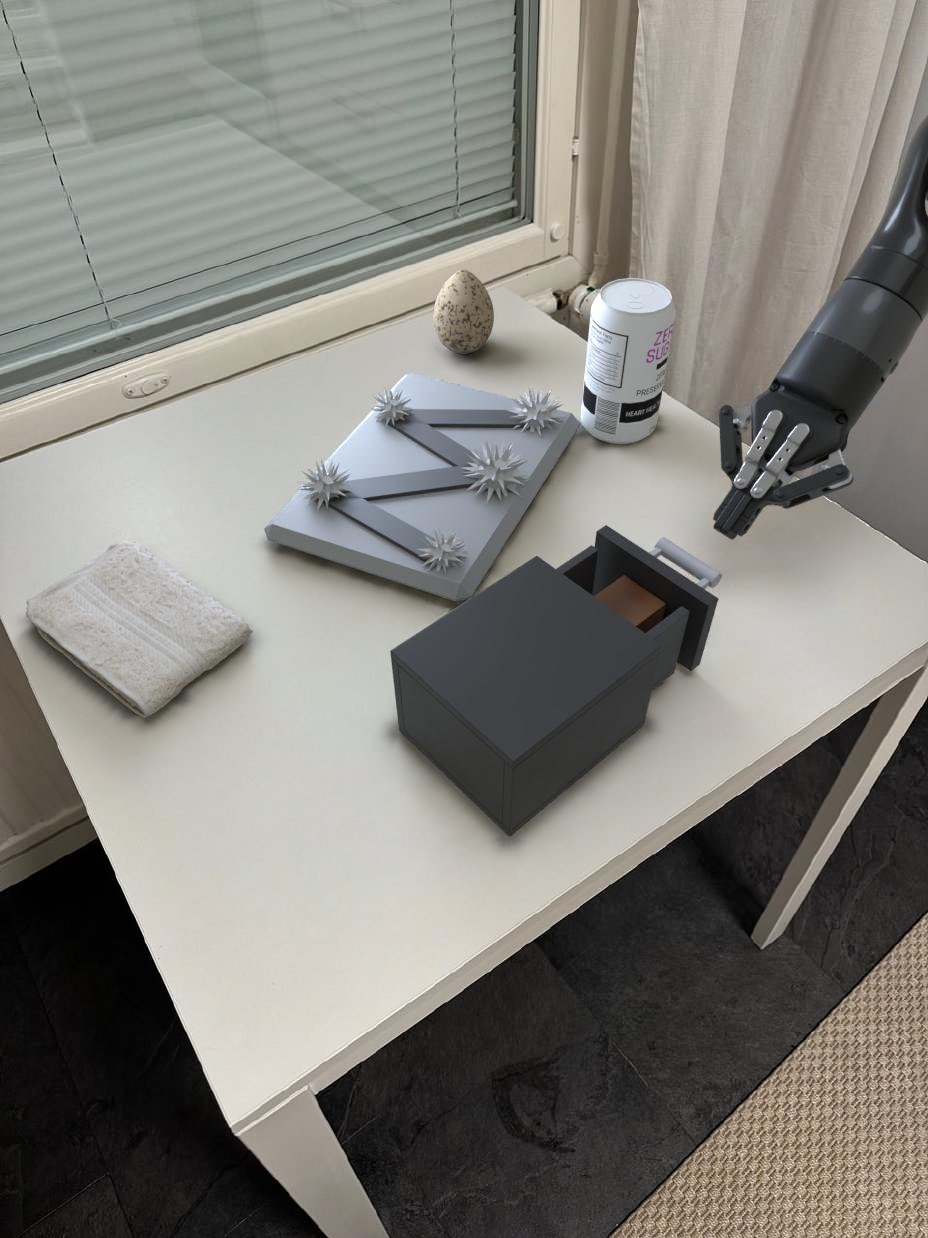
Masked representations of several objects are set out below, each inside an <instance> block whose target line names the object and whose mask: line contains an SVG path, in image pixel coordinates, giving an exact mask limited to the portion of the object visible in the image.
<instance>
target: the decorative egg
mask: <svg viewBox="0 0 928 1238" xmlns="http://www.w3.org/2000/svg"><path fill="white" fill-rule="evenodd" d="M491 298H492V297H491V296H490V293H489V291H488V290H487V288H486V286H485V285H484V284H483V282H482V281H481V279H479V278H478V277H477V275H475V274H474V273H473V272H472V271H470V270H468V269H460V270H457V271H456V272H454V273H453V274H452V275H451V276H449V278H448V279H447V280H446V281H445V282H444V284H443V285H442V287H441V289H440V290H439V292H438V294H437V297H436V300H435V302H434V307H433V316H432V317H433V318H432V319H433V326H434V330H435V333H436V335H437V338H438V339H439V341H440V342H441V343H442V344H443V346H444V347H445V348H447V349H448V350H450V351H451V352H453V353H456V354H462V355H465V354H471V353H474V352H476V351H477V350H479V349H481V348H482V347H483V346H484V345H485V344H486V343H487V342H488V340H489V339H490V336H491V334H492V331H493V327H494V323H495V311H494V305H493V301H492V299H491Z"/></svg>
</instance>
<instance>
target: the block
mask: <svg viewBox="0 0 928 1238" xmlns="http://www.w3.org/2000/svg"><path fill="white" fill-rule="evenodd" d="M594 597H595V598H597V599H598V600H600V601H601V602H602V603H604V604H605V605H607V606H608V607H609V608H611V609H612V610H614V611H615V612H616V613H618V614H619V615H621V616H622V617H623V618H625V619H626V620H628V621H629V622H630V623H632V624H633V625H635V626H636V627H637V628H639V629H640V630H641V631H643V632H644V633H647V632H648V631H650V630H651V629H652V628H653V627H655V626H656V625H657V624H659V623H660V622H661V621H662V619H663V615H664V610H665V606H666V603H664V602H663V601H661V600H660V599H658V598H657V597H656V596H654V595H653V594H651V593H650V592H648V591H647V590H645V589H644V588H642V587H641V586H640V585H638V584H637V583H635V582H634V581H632V580H631V579H629V578H628V577H626V576H625V575H623V576H622V577H621V578H619V579H618V580H616V581H615V582H614V583H612V584H611V585H609V586H608V587H606V588H605V589H604V590H602V591H601V592H599V593H598V594H596V595H595V596H594Z"/></svg>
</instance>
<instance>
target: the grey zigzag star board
mask: <svg viewBox="0 0 928 1238" xmlns="http://www.w3.org/2000/svg"><path fill="white" fill-rule="evenodd" d="M530 388H531V389H530ZM530 388H528V394H527V392H526V391H525V390H523V392H524V397H525V398H524V397H523V396H522V395H521V394H518V396H519V398H520V399H519V398H518V397H509V396H505V395H501V394H497V393H493V392H489V391H485V390H481V389H476V388H473V387H469V386H464V385H461V384H456V383H453V382H448V381H445V380H441V379H437V378H433V377H429V376H424V375H421V374H417V373H412V372H408V373H406V374H405V375H404V376H402V377H401V378H400V379H399V380H398V381H397V382H396V384H394V385H393V387H392V388H391V389H390V388H389V386H387V389H386V388H384V390H383V394H384V396H383V395H382V394H380V393H379V392H377V394H376V396H377V397H376V396H374V395H373V398H374V399H375V400H376V401H377V402H376V404H371V406H372V407H373V408H371V410H370V412H369V413H368V414H367V415H366V416H365V417H364V418H363V420H362V421H361V422H360V423H359V424H358V425H357V426H356V427H355V428H354V429H353V431H352V432H351V433H349V435H348V436H347V437H346V438H345V439H344V440H343V441H342V443H341V444H340V445H339V446H338V447H337V448H336V449H335V450H334V451H333V453H332V454H330V455H329V457H328V458H327V459H326V460H325V461H324V462H323V460H322V458H320V464H321V466H320V465H319V464H318V461H315V463H316V464H315V465H316V468H317V469H316V471H315V472H314V471H313V470H311V469H309V468H308V467H306V466H305V468H306V469H307V471H308V472H309V473H310V474H309V473H306V472H305V471H303V470H301V472H302V473H303V474H304V476H306V479H307V481H297V483H299V484H302V485H300V487H301V488H298V491H297V492H296V493H295V494H294V495H293V496H292V497H291V499H289V501H288V502H287V503H286V504H285V505H284V506H283V507H282V508H281V509H280V510H279V512H278V513H277V514H276V515H275V516H274V517H273V518H272V519H271V520H270V521H269V522H268V524H267V525H266V526H265V527H264V528H263V530H264V533H265V536H266V538H267V540H268V541H269V542H273V543H276V544H279V545H282V546H285V547H288V548H291V549H294V550H297V551H300V552H304V553H307V554H309V555H312V556H316V557H318V558H322V559H325V560H327V561H330V562H334V563H337V564H341V565H343V566H346V567H350V568H351V569H355V570H359V571H362V572H364V573H367V574H370V575H373V576H377V577H379V578H383V579H386V580H388V581H392V582H395V583H397V584H401V585H404V586H407V587H410V588H412V589H413V588H414V589H417V590H419V591H422V592H425V593H428V594H432V595H434V596H435V595H436V596H438V597H441V598H444V599H447V600H450V601H453V602H460V603H461V602H464V601H465V600H466V601H467V600H469V599H470V598H472V597H473V596H474V593H476V590H477V589H478V587H479V586H480V584H481V582H482V581H483V579H484V578H485V576H486V575H487V574H488V572H489V570H490V568H491V567H492V565H493V564H494V562H495V560H496V559H497V557H498V556H499V554H500V553H501V551H502V549H503V548H504V546H505V544H506V543H507V542H508V540H509V538H510V537H511V535H512V533H513V532H514V530H515V529H516V527H517V526H518V524H519V522H520V521H521V519H522V518H523V516H524V515H525V513H526V511H527V510H528V508H529V507H530V505H531V503H532V501H533V500H534V499H535V497H536V495H537V494H538V492H539V491H540V489H541V487H542V486H543V484H544V483H545V481H546V480H547V478H548V476H550V473H551V472H552V470H553V469H554V467H555V465H556V464H557V462H558V461H559V459H560V457H561V456H562V454H563V453H564V451H565V449H566V448H567V446H568V445H569V444H570V442H571V441H572V439H573V437H574V435H575V434H576V432H577V430H578V429H579V428H580V426H581V422H580V421H579V420H578V419H577V417H576V416H575V415H574V414H573V413H572V412H571V411H565V410H560V409H559V408H560V407H562V406H563V405H564V403H562V404H560V402H558V400H559V399H560V397H558V398H556V399H554V400H552V401H551V399H549V398H550V395H551V392H552V389H550V390H549V391H548V392H547V393H546V394H545V396H544V387H542V388H541V390H540V393H539V390H537V391H536V394H535V391H534V388H533V386H532V385H531V387H530ZM556 402H558V403H556Z"/></svg>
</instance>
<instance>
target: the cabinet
mask: <svg viewBox="0 0 928 1238" xmlns="http://www.w3.org/2000/svg"><path fill="white" fill-rule="evenodd" d="M661 648H662V645H661V644H660V643H658V642H657V641H655V640H654V639H653V638H651V637H650V636H648V635H647V634H646V633H644V632H643V631H641V630H640V629H639V628H637V627H636V626H635V625H633V624H632V623H630V622H629V621H628V620H626V619H625V618H623V617H622V616H621V615H619V614H618V613H616V612H615V611H614V610H612V609H611V608H609V607H608V606H607V605H605V604H604V603H602V602H601V601H600V600H598V599H597V598H595V597H594V596H593V595H591V594H590V593H588V592H587V591H586V590H584V589H583V588H581V587H580V586H579V585H577V584H576V583H575V582H573V581H572V580H570V579H569V578H568V577H566V576H565V575H563V574H562V573H561V572H559V571H558V570H556V568H555V567H553V565H551V564H550V563H548V562H547V561H545V560H544V559H543V558H541V557H540V556H538V555H534V556H533V557H532V558H531V559H529V560H527V561H526V562H524V563H522V564H521V565H519V566H518V567H516V568H515V569H514V570H512V571H510V572H509V573H507V574H505V575H504V576H503V577H501V578H499V579H498V580H497V581H495V582H494V583H492V584H490V585H489V586H487V587H486V588H485V589H482V590H481V591H480V592H478V593H476V594H475V595H472V597H471V598H468V599H466V601H463V603H461V604H460V605H459V606H457V607H455V608H454V609H451V610H450V611H449V612H448V613H445V614H444V615H443V616H441V617H440V618H438V619H436V620H435V621H433V622H432V623H430V624H429V625H427V626H426V627H424V628H423V629H421V630H420V631H418V632H416V633H415V634H414V635H412V636H410V637H409V638H407V639H406V640H404V641H403V642H401V643H400V644H398V645H396V646H395V647H393V648H392V649H390V651H389V652H390V662H391V670H392V679H393V689H394V697H395V705H396V707H395V708H396V717H397V722H398V723H397V724H398V731H399V732H401V734H403V736H405V738H407V739H408V740H409V741H410V742H411V743H412V744H413V745H414V746H415V747H416V748H417V749H418V750H419V751H420V752H421V753H422V754H423V755H424V756H425V757H426V758H427V759H428V760H429V761H431V763H433V764H434V766H435V767H436V768H437V769H439V771H441V772H442V773H443V774H444V775H445V776H446V777H447V778H448V779H449V780H450V781H451V782H452V783H453V784H454V785H455V786H456V787H457V788H459V790H460V791H461V792H462V793H463V794H464V795H466V796H467V797H468V798H469V800H471V801H472V802H473V803H474V804H475V805H476V806H477V807H478V808H479V809H480V810H481V811H482V812H483V813H484V814H485V815H486V816H487V817H489V819H491V821H493V822H494V824H496V825H497V827H499V829H501V831H503V832H504V833H505V834H506V835H507V836H508V837H511V836H513V835H514V834H515V833H516V832H517V831H519V830H520V829H521V828H523V826H524V825H526V824H527V823H528V822H530V821H531V820H532V819H533V818H534V817H536V816H537V815H538V814H539V813H540V812H542V811H543V810H544V809H545V808H546V807H547V806H549V805H550V804H552V802H554V801H555V800H556V799H557V798H558V797H560V796H561V795H562V794H563V793H564V792H566V791H567V790H568V789H569V788H570V787H572V786H573V785H574V784H575V783H576V782H578V781H579V780H580V779H581V778H582V777H584V776H585V775H586V774H587V773H589V772H590V771H591V770H593V768H594V767H596V766H597V765H598V764H599V763H600V762H602V761H603V760H604V759H605V758H607V756H609V755H610V754H611V753H612V752H613V751H615V750H617V748H619V747H620V746H621V745H622V744H624V742H626V741H627V740H628V739H629V738H631V737H632V736H633V735H634V734H635V733H637V732H638V731H639V730H640V729H642V728H643V726H644V725H645V722H646V717H647V713H648V708H649V704H650V700H651V695H652V692H653V691H652V687H653V683H654V679H655V674H656V670H657V666H658V661H659V657H660V652H661Z"/></svg>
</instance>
